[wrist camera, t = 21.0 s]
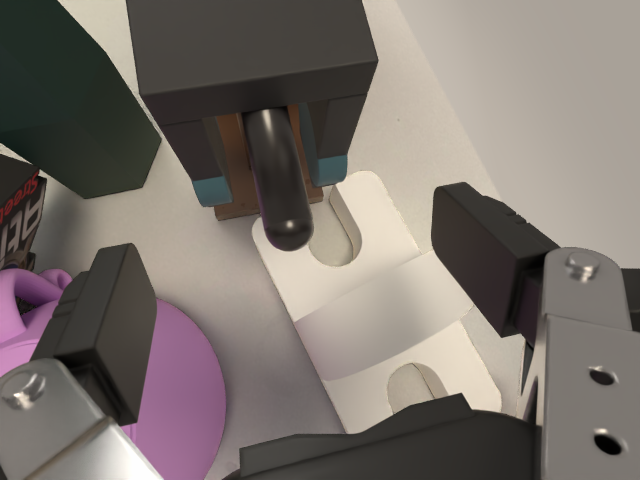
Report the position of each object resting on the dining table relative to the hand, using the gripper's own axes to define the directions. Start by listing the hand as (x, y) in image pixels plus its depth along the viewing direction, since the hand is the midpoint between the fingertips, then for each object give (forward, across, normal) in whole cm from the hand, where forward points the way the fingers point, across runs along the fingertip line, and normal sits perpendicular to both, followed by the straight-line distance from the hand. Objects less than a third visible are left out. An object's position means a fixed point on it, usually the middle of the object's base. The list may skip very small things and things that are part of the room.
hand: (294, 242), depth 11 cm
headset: (+9, 0, +1) cm, 9 cm away
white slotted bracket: (+12, -5, +15) cm, 20 cm away
